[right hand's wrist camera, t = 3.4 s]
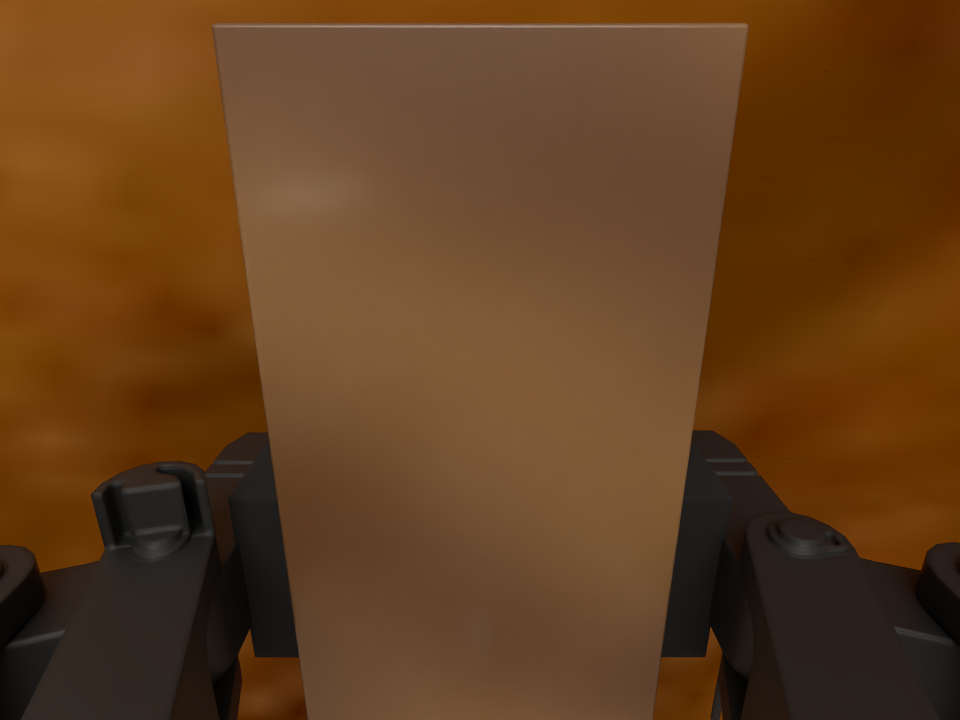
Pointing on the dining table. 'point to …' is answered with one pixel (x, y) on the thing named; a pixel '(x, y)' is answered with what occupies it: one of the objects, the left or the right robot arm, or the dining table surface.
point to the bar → (480, 346)
